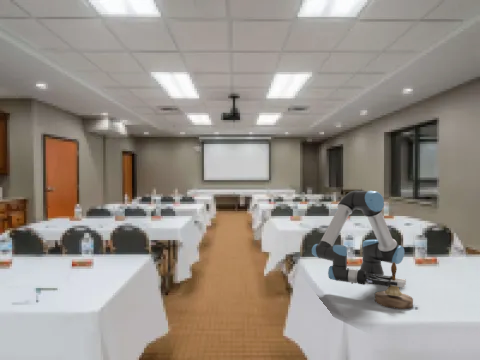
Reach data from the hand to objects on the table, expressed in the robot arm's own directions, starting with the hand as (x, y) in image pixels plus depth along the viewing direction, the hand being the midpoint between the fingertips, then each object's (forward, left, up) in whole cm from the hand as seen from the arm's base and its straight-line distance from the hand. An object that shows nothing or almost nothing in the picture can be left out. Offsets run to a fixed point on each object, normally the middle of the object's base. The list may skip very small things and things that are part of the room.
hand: (405, 283), depth 178 cm
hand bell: (+3, -5, -6) cm, 8 cm away
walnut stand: (+3, -5, -11) cm, 12 cm away
